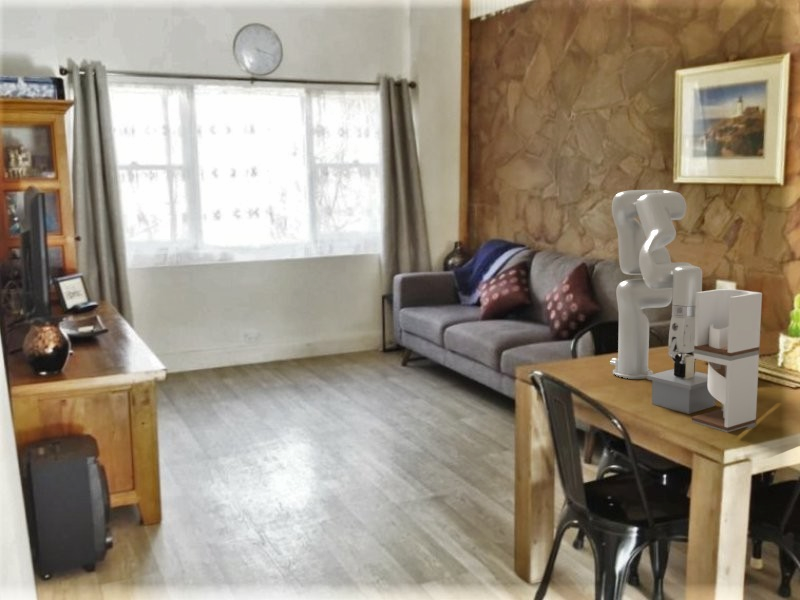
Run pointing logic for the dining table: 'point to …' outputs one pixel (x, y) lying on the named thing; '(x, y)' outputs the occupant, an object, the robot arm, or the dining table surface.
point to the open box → (681, 397)
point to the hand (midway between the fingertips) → (684, 374)
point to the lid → (688, 381)
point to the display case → (729, 354)
